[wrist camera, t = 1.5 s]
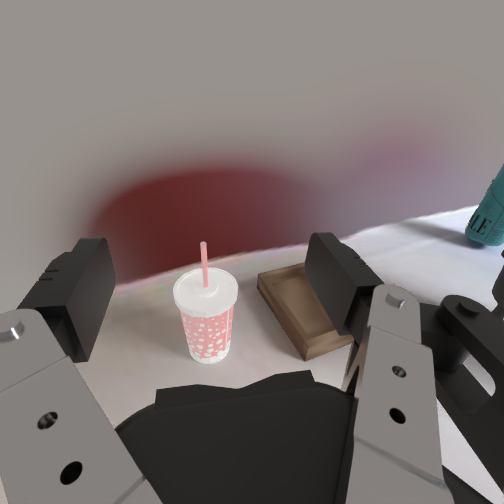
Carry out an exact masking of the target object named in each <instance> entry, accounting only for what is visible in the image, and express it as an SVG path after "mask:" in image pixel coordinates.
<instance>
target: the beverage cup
mask: <svg viewBox="0 0 504 504" xmlns="http://www.w3.org/2000/svg"><path fill="white" fill-rule="evenodd" d="M201 258H202V268H199V269H194V270H192V271H189V272H187V273H185V274H183V275H182V276H181V277H180V278H179V279H178V280H177V281H176V283H175V285H174V288H173V294H174V300H175V304H176V305H177V307H178V308H179V309H180V313H181V318H182V322H183V326H184V330H185V334H186V338H187V343H188V347H189V351H190V354H191V356H192V357H193V358H194V360H196V361H198V362H200V363H204V364H212V363H215V362H218V361H220V360H221V359H223V358H224V357H225V356H226V354H227V353H228V351H229V346H230V337H231V328H232V318H233V309H234V303H235V302H236V300H237V293H238V284H237V282H236V280H235V278H234V277H233V276H232V275H231V274H230V273H228V272H227V271H224V270H221V269H218V268H209V267H207V249H206V242H201Z"/></svg>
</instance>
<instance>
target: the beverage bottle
mask: <svg viewBox="0 0 504 504" xmlns="http://www.w3.org/2000/svg"><path fill="white" fill-rule="evenodd" d="M492 182H493V183H492V184H491V185H490V188H489V189H488V191H487V193H486V195H485V197H484V198H483V200H482V202H481V203H480V204H479V207H478V208H477V209H476V211H475V213H474V215H472V218H471V219H470V220H469V223H468V226H467V227H466V229H465V234H466V235H467V236H468V237H469V238H470V239H472V240H474V241H476V242H479V243H481V244H485V245H489V246H500V245H501V244H502V243H504V164H503V166H502V168H501V170H500V171H499V173H498V175H497V176H496V178H495V179H494V180H493V181H492Z"/></svg>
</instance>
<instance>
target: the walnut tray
mask: <svg viewBox="0 0 504 504" xmlns="http://www.w3.org/2000/svg"><path fill="white" fill-rule="evenodd" d="M257 289H258V290H259V292H260V293H261V295H262V296H263V298H264V299H265V301H266V302H267V304H268V305H269V307H270V309H271V310H272V312H273V313H274V315H275V316H276V318H277V319H278V321H279V322H280V324H281V326H282V327H283V329H284V330H285V332H286V333H287V335H288V336H289V338H290V339H291V341H292V342H293V344H294V346H295V347H296V349H297V350H298V352H299V353H300V355H301V356H302V358H303V359H304V361H308V360H310V359H313V358H315V357H318V356H320V355H322V354H325V353H327V352H330V351H332V350H335V349H337V348H340V347H342V346H345V345H347V344H350V343H352V342H353V340H354V338H353V336H352V335H345V336H339V334H338V333H337V331H336V329H335V327H334V326H333V324H332V322H331V320H330V318H329V317H328V315H327V313H326V311H325V310H324V308H323V306H322V304H321V302H320V301H319V299H318V297H317V295H316V294H315V292H314V290H313V288H312V286H311V285H310V283H309V281H308V279H307V277H306V275H305V263H301V264H296V265H292V266H288V267H284V268H280V269H276V270H272V271H268V272H264V273H260V274H258V283H257Z"/></svg>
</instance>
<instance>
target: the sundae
mask: <svg viewBox="0 0 504 504" xmlns="http://www.w3.org/2000/svg"><path fill="white" fill-rule="evenodd" d="M501 256H502V257H503V258H504V250H503V252H502V253H501ZM492 294H493V296H494V299H495V300H496V301H497V303H498V305H497V307H496V308H495V309H494V310H493V311H492V312H491V313H493V314H494V315H495V316H496V317H497V318H498V319H500V320H501V321H502V322H503V323H504V320H503V318H504V266H503V268H502V270H501V272H500V274H499V276H498V278H497V279H496V281H495V284H494V287H493V289H492Z"/></svg>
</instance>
